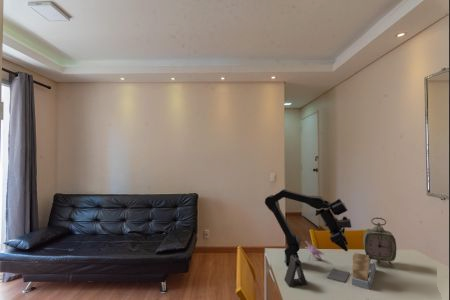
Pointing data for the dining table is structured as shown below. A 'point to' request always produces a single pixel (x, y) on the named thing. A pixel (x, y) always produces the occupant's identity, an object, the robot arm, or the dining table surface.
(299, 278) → the phone stand
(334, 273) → the rubber mat
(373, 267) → the shelf
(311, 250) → the lily
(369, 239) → the tabletop clock
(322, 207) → the robot arm
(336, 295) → the dining table surface
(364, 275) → the oak block
